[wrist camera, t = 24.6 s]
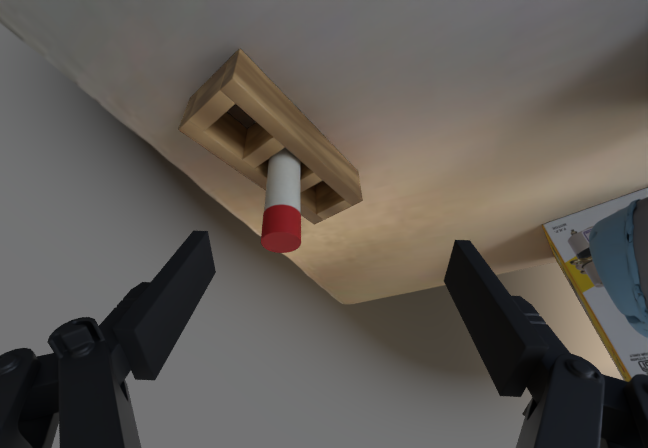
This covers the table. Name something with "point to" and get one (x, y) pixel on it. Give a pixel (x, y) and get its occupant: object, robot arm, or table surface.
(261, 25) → the table surface
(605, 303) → the packaging box
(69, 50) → the table surface
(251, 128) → the pen holder
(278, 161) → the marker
